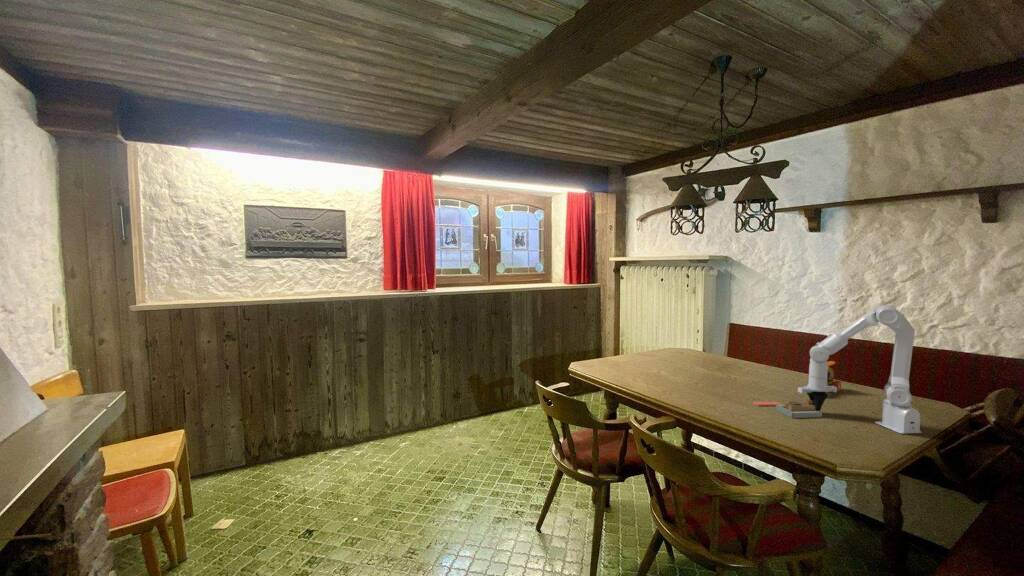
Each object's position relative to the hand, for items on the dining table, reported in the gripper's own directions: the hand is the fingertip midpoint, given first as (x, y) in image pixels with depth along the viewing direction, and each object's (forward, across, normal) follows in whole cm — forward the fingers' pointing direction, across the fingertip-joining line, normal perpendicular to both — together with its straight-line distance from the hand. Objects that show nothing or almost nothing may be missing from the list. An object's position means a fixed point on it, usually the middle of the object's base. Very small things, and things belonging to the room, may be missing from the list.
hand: (816, 410), depth 158 cm
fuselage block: (+1, +7, 0) cm, 7 cm away
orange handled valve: (+1, -23, -23) cm, 33 cm away
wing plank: (+2, +13, -10) cm, 16 cm away
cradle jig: (+1, +7, 0) cm, 7 cm away
